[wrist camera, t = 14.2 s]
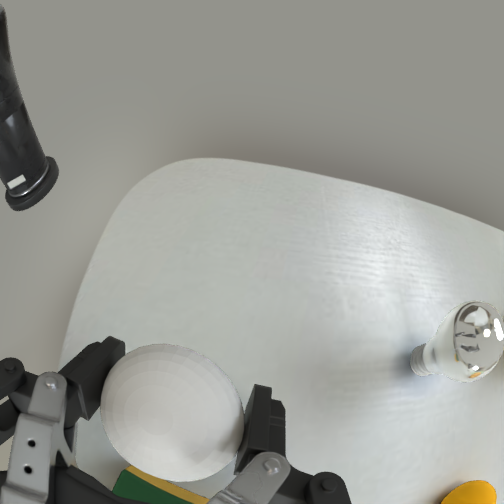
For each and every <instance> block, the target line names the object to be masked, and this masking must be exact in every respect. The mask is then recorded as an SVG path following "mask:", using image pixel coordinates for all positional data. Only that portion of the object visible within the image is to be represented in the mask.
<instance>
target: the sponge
mask: <svg viewBox="0 0 504 504" xmlns="http://www.w3.org/2000/svg"><path fill="white" fill-rule="evenodd" d="M112 492H113V493H114V494H116V495H117V496H120V497H123V498H128V499H132V500H137V501H143V502H148V503H151V504H206V503H207V502H208V501H209V500H210V499H207V498H204V497H202V496H199V495H197V494H194V493H192V492H190V491H187V490H185V489H183V488H180V487H178V486H176V485H174V484H172V483H170V482H168V481H166V480H164V479H160V478H158V477H155V476H152V475H150V474H147V473H145V472H143V471H141V470H140V469H138V468H136V467H134V466H133V465H130V466H129V467H127V468H126V469H124V470H123V471H122V472H121V474H120V476H119V478H118V480H117V482H116V484H115V486H114V488H113V490H112Z"/></svg>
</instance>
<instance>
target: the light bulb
mask: <svg viewBox="0 0 504 504" xmlns="http://www.w3.org/2000/svg"><path fill="white" fill-rule="evenodd" d="M503 351H504V321H503V318H502V316H501V315H500V313H499V312H498V310H497V309H495V308H494V307H493V306H492V305H490V304H488V303H486V302H484V301H476V300H473V301H468V302H464V303H462V304H460V305H458V306H456V307H455V308H453V309H452V310H451V311H450V312H449V313H448V314H447V315H446V316H445V318H444V319H443V320H442V322H441V324H440V325H439V327H438V330H437V332H436V334H435V336H433V337H432V338H431V339H430V340H429V341H428V342H427V343H425V344H423V345H420V346H418V347H416V348H415V349H414V350H413V352H412V354H411V357H410V365H411V368H412V370H413V372H414V373H415V374H417V375H419V376H426V375H430V374H443V375H445V376H446V377H448V378H449V379H451V380H453V381H456V382H462V383H466V382H473V381H476V380H478V379H481V378H482V377H484V376H485V375H487V374H488V373H489V372H490V371H491V370H492V369H493V368H494V367H495V366H496V365H497V363H498V361H499V360H500V358H501V356H502V354H503Z"/></svg>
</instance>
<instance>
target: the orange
mask: <svg viewBox="0 0 504 504" xmlns="http://www.w3.org/2000/svg"><path fill="white" fill-rule="evenodd" d="M496 498H497V496H496V491H495V489H494V487H493V486H492V485H491V484H489V483H488V482H486V481H482V480H476V481H469V482H466V483H464V484H462V485H460V486H458V487H456V488H455V489H454V490H453V491H451V492H450V493H449V494H448V495H447V496H446V497H445V498H444V499H443V501H442V502H441V504H496Z"/></svg>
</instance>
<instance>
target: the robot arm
mask: <svg viewBox="0 0 504 504" xmlns="http://www.w3.org/2000/svg"><path fill="white" fill-rule="evenodd" d="M49 170H50V164H49V162H48V160H47V158H46V157H45V154H44V152H43V150H42V147H41V145H40V143H39V141H38V138H37V136H36V133H35V131H34V128H33V126H32V123H31V120H30V118H29V115H28V112H27V110H26V107H25V104H24V101H23V98H22V95H21V92H20V88H19V85H18V82H17V78H16V75H15V70H14V66H13V62H12V57H11V52H10V46H9V37H8V26H7V18H6V12H5V9H4V7H3V6H2V5H1V4H0V178H1V180H2V182H3V184H4V185H5V187H6V188H7V190H8V193H9V194H10V196H11V197H12V198H14V199H20V198H23V197H25V196H27V195H29V194H30V193H32V192H33V191H34V190H35V189H37V188H38V187H39V186H40V185H41V184H42V182H43V181H44V180H45V178H46V177H47V175H48V173H49ZM123 356H125V343H124V342H123V341H121V340H119V339H116V338H114V337H112V336H109V337H107V338H106V339H105V340H104V341H103V342H102V343H100V342H98V341H97V342H95V343H92V344H90V345H88V346H87V347H86V348H84V349H83V350H82V352H80V353H79V354H78V355H77V357H76V356H75V357H74V358H73V359H72V360H71V361H70V362H69V363H68V364H67V365H66V366H64V367H63V368H62V369H61V370H60V371H59V372H58V373H56V372H45V373H43V374H41V375H40V376H38V375H35V374H32V373H29V372H26V371H25V369H24V366H23V364H22V362H21V361H20V360H18V359H16V358H5V359H3V360H1V361H0V400H1V399H3V398H4V397H6V396H7V395H8V397H9V400H7V401H6V402H4V403H3V404H1V405H0V445H1V444H3V443H4V442H5V441H6V440H8V439H9V438H10V437H11V436H13V435H14V437H13V442H12V447H11V452H10V458H9V464H8V470H7V471H0V504H151V503H148V502H143V501H137V500H132V499H128V498H123V497H120V496H117V495H116V494H114V493H113V492H111V491H110V490H109V489H108V488H106V487H105V486H104V485H102V484H101V483H100V482H99V481H97V480H96V479H95V478H94V477H92V476H90V475H88V474H87V473H85V472H83V471H81V470H80V469H78V467H77V462H76V441H77V428H78V423H77V420H78V419H79V418H80V417H82V418H84V419H86V420H88V421H89V419H90V418H91V417H92V416H93V414H94V413H95V412H96V410H97V409H98V408H99V406H100V404H101V394H102V390H103V386H104V382H105V380H106V378H107V376H108V374H109V372H110V370H111V369H112V368H113V366H114V365H115V364H116V363H117V362H118V360H120V359H121V358H122V357H123ZM271 394H272V388H271V387H266V386H261V385H257V384H255V385H254V387H253V390H252V393H251V396H250V398H249V401H248V404H247V407H246V410H245V413H244V433H243V438H242V442H241V445H240V447H239V449H238V453H237V459H236V464H235V470H234V475H237V477H236V478H235V479H234V480H233V481H232V482H231V483H230V484H229V485H228V486H227V487H226V488H225V489H224V490H221V491H220V492H218V493H217V494H216V495H215V496H214V497H213V498H212V499H210V500H209V501H208V502H207V503H206V504H351V501H350V498H349V495H348V491H347V488H346V485H345V483H344V481H343V479H342V478H341V477H340V476H338V475H337V474H334V473H331V472H320V473H318V474H316V475H314V476H313V475H310V474H307V473H304V472H301V471H299V470H297V469H295V468H294V467H292V466H291V465H290V464H289V462H288V460H287V459H286V454H285V408H284V406H283V404H282V403H281V401H279V400H274V399H271Z"/></svg>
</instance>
